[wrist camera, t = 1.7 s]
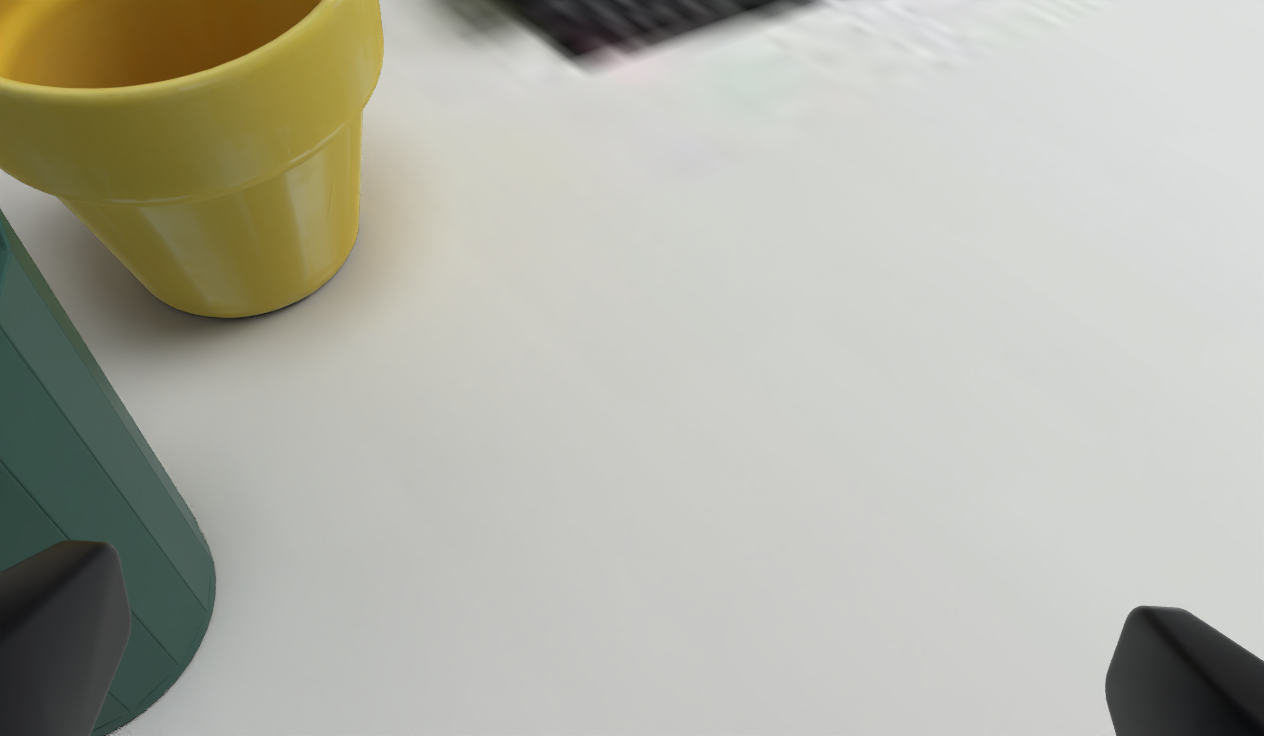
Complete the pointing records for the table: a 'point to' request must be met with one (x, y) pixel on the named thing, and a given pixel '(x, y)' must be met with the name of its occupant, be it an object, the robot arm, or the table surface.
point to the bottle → (93, 486)
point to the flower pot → (197, 136)
